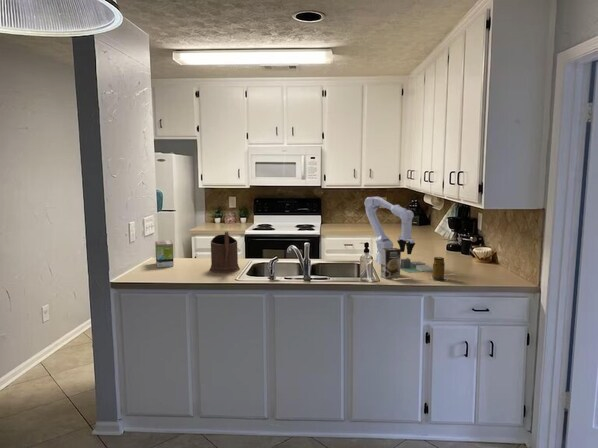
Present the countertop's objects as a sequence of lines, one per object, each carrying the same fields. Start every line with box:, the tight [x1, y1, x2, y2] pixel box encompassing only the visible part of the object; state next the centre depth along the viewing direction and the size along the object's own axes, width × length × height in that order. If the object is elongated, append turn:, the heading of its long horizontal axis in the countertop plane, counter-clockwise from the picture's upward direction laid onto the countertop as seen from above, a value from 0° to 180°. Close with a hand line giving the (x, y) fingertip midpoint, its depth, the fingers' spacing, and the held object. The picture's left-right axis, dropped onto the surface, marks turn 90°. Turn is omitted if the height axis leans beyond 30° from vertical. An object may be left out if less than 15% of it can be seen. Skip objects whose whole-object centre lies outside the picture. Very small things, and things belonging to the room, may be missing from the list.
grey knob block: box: [410, 260, 426, 268], centre depth 267 cm, size 7×7×2 cm
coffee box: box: [380, 247, 402, 280], centre depth 243 cm, size 9×6×16 cm
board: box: [400, 264, 433, 274], centre depth 260 cm, size 17×18×3 cm
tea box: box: [154, 240, 175, 268], centre depth 277 cm, size 15×10×15 cm, turn 22°
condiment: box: [430, 256, 450, 282], centre depth 238 cm, size 7×8×12 cm
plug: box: [400, 257, 412, 268], centre depth 262 cm, size 3×5×6 cm
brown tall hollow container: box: [209, 230, 241, 274], centre depth 260 cm, size 18×24×25 cm
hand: (405, 253), depth 261 cm, fingers open, 7 cm apart
